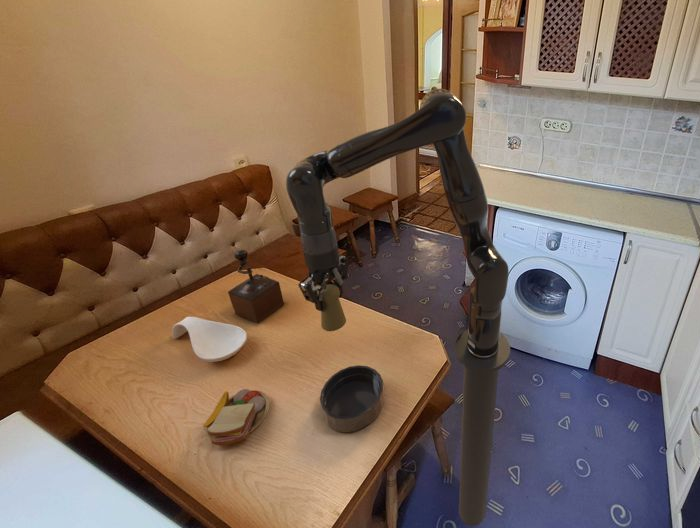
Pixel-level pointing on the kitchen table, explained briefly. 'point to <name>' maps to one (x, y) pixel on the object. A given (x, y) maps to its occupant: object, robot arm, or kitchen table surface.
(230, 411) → the toy sandwich meal
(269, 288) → the dark brown coffee grinder
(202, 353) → the spoon rest
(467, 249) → the robot arm
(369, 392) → the dark grey bowl
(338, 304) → the cork
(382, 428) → the kitchen table surface
